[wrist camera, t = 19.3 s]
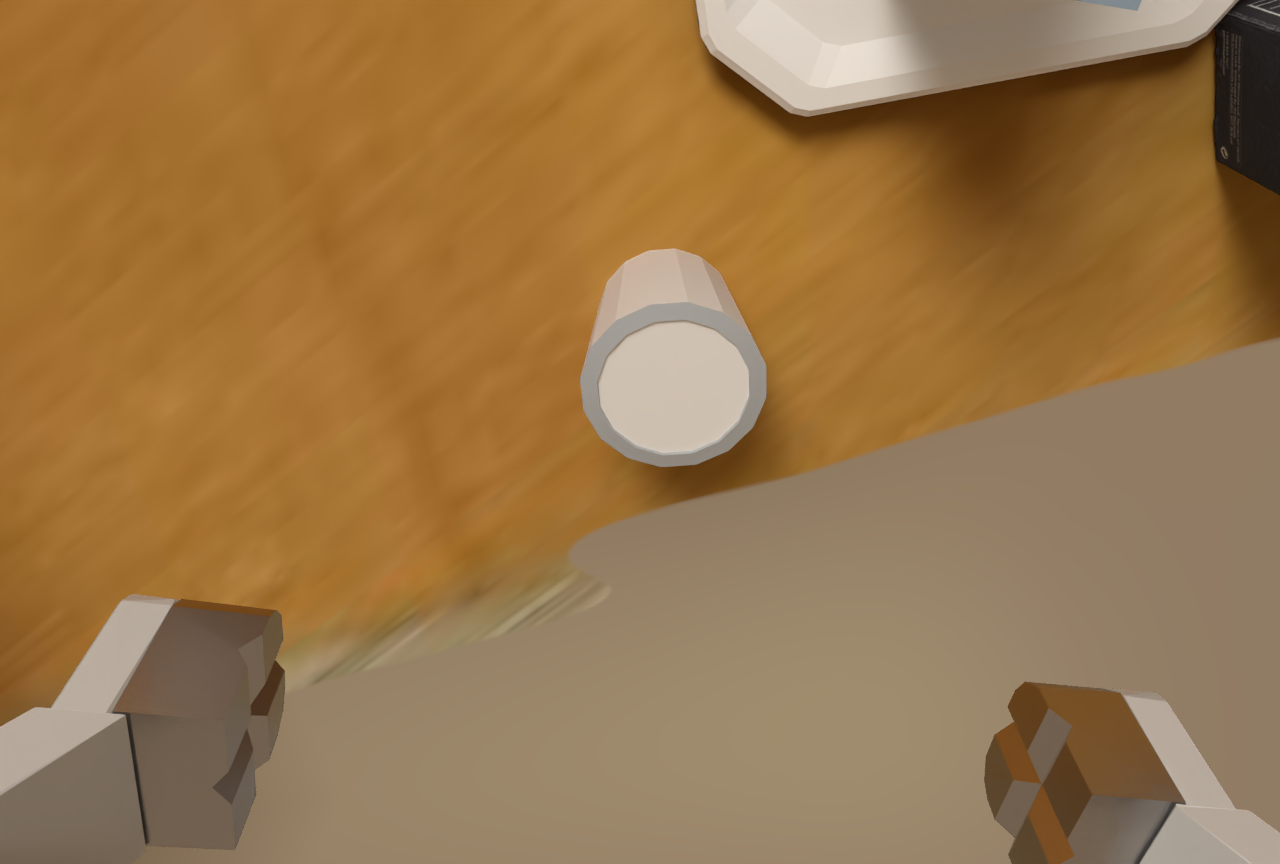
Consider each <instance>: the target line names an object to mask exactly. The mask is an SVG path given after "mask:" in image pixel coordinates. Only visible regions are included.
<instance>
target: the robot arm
mask: <svg viewBox="0 0 1280 864" xmlns="http://www.w3.org/2000/svg"><path fill="white" fill-rule="evenodd" d="M282 641H283V629H282V617H281V614H280V613H279V612H278V611H277V610H270V609H262V608H253V607H245V606H237V605H228V604H220V603H211V602H203V601H195V600H186V599H181V600H176V599H169V598H161V597H152V596H144V595H136V594H131V595H129V596H128V597H127V598H125V599H124V600H122V601H121V602H120V603H119V604H118V605H117V607H116V608H115V610H114V611H113V613H112V614H111V616H110V617H109V619H108V620H107V622H106V624H105V625H104V627H103V628H102V630H101V631H100V633H99V634H98V636H97V637H96V639H95V640H94V642H93V644H92V645H91V647H90V648H89V650H88V651H87V653H86V654H85V656H84V657H83V659H82V660H81V662H80V664H79V665H78V667H77V668H76V670H75V671H74V673H73V674H72V676H71V677H70V679H69V680H68V682H67V683H66V685H65V687H64V688H63V690H62V691H61V693H60V694H59V696H58V697H57V699H56V700H55V702H54V703H53V705H52V707H51V708H41V707H34V708H32V709H31V710H29V711H27V712H25V713H24V714H22V715H20V716H18V717H17V718H15V719H13V720H11V721H9V722H8V723H6V724H4V725H2V726H1V727H0V864H132V863H133V862H134V861H135V860H136V859H138V858H139V857H140V856H141V855H142V854H144V853H145V852H146V846H161V847H184V848H204V849H226V850H235V849H236V846H237V844H238V841H239V838H240V836H241V833H242V830H243V828H244V825H245V823H246V820H247V817H248V815H249V812H250V809H251V806H252V804H253V802H254V799H255V796H256V786H255V770H256V769H257V768H258V767H260V766H261V765H262V764H264V763H265V762H267V761H268V760H269V759H270V756H271V753H272V750H273V747H274V745H275V742H276V739H277V736H278V731H279V727H280V722H281V717H282V712H283V707H284V695H285V670H284V669H283V668H282V667H281V666H280V665H279V664H278V663H277V662H276V661H275V658H276V656H277V653H278V651H279V648H280V646H281V643H282ZM1008 709H1009V711H1010V713H1011V716H1012V718H1013V720H1014V722H1013V723H1011V724H1010V725H1008V726H1007V727H1005V728H1004V729H1002V730H1001V731H1000V732H998V733H997V734H995V735H994V738H993V740H992V742H991V745H990V747H989V750H988V752H987V755H986V763H985V777H984V781H985V788H986V793H987V800H988V802H989V805H990V808H991V810H992V813H993V816H994V819H995V820H996V821H997V822H998V823H1000V825H1001V826H1003V827H1004V828H1005V829H1006V830H1007V831H1008V832H1009V833H1010V834H1011V835H1013V837H1014V838H1015V839H1014V841H1013V844H1012V846H1011V849H1010V851H1009V854H1008V855H1009V858H1010V860H1011V863H1012V864H1280V833H1279V832H1278V831H1276V830H1275V829H1274V828H1272V827H1271V826H1269V825H1268V824H1267V823H1265V822H1264V821H1262V820H1261V819H1260V818H1258V817H1257V816H1256V815H1255V814H1253V813H1252V812H1250V811H1247V810H1237V809H1235V807H1234V806H1233V804H1232V803H1231V801H1230V799H1229V798H1228V796H1227V795H1226V793H1225V792H1224V790H1223V789H1222V787H1221V785H1220V784H1219V782H1218V781H1217V779H1216V778H1215V776H1214V775H1213V773H1212V772H1211V770H1210V768H1209V767H1208V765H1207V764H1206V762H1205V761H1204V759H1203V757H1202V756H1201V754H1200V753H1199V751H1198V750H1197V748H1196V747H1195V745H1194V743H1193V742H1192V740H1191V739H1190V737H1189V736H1188V734H1187V732H1186V731H1185V729H1184V728H1183V726H1182V725H1181V723H1180V722H1179V720H1178V719H1177V717H1176V715H1175V714H1174V712H1173V711H1172V709H1171V708H1170V706H1169V704H1168V703H1167V701H1166V700H1164V699H1163V698H1162V697H1160V696H1159V695H1157V694H1156V693H1155V692H1146V691H1133V690H1121V689H1110V690H1107V689H1101V688H1090V687H1078V686H1068V685H1056V684H1045V683H1033V682H1024V683H1023V684H1022V685H1021V686H1020V687H1019V688H1018V689H1016V690H1015V692H1014V694H1013V696H1012V698H1011V700H1010V702H1009V705H1008Z"/></svg>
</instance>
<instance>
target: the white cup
mask: <svg viewBox="0 0 1280 864" xmlns="http://www.w3.org/2000/svg"><path fill="white" fill-rule="evenodd" d="M580 382H581V391H582V400H583V409H584V412H585V414H586V415H587V417H588V419H589V420H590V422H591V424H592V425H593V427H594V429H595V430H596V432H597V434H598V435H599V437H600V438H601V439H602V440H603V441H605V442H606V443H607V444H609V445H610V446H612V447H613V448H614V449H616V450H617V451H618V452H620V453H621V454H623V455H624V456H625V457H627V458H629V459H633V460H636V461H640V462H644V463H647V464H651V465H655V466H658V467H671V466H686V465H697V464H699V463H701V462H704V461H706V460H708V459H711V458H713V457H715V456H718V455H720V454H723V453H725V452H727V451H729V450H730V449H731V448H732V447H733V446H734V445H735V444H736V443H737V442H738V441H739V440H740V439H742V438H743V437H744V436H745V435H746V434H747V433H748V432H749V431H750V430H751V429H752V428H753V426H754V424H755V422H756V420H757V418H758V415H759V413H760V411H761V409H762V407H763V404H764V402H765V400H766V364H765V362H764V360H763V358H762V356H761V354H760V352H759V350H758V348H757V346H756V344H755V341H754V339H753V337H752V335H751V333H750V331H749V329H748V327H747V325H746V323H745V321H744V319H743V317H742V315H741V314H740V312H739V310H738V308H737V306H736V304H735V302H734V300H733V298H732V296H731V294H730V292H729V290H728V288H727V286H726V284H725V282H724V280H723V278H722V276H721V274H720V272H718V271H717V270H716V269H715V268H714V267H712V266H711V265H710V264H709V263H708V262H707V261H705V260H704V259H703V258H702V257H701V256H697V255H694V254H691V253H688V252H685V251H681V250H678V249H663V250H650V251H647V252H645V253H642V254H640V255H638V256H636V257H634V258H632V259H630V260H628V261H626V262H624V263H623V264H622V266H621V267H620V268H619V269H618V270H617V271H616V272H615V273H614V274H613V275H612V277H611V278H610V279H609V280H608V281H607V284H606V287H605V290H604V293H603V296H602V299H601V302H600V304H599V308H598V312H597V316H596V320H595V324H594V327H593V331H592V335H591V339H590V343H589V347H588V350H587V354H586V358H585V362H584V366H583V370H582V373H581V377H580Z"/></svg>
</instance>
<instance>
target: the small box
mask: <svg viewBox="0 0 1280 864" xmlns="http://www.w3.org/2000/svg"><path fill="white" fill-rule="evenodd" d="M1215 31H1216V33H1215V35H1216V37H1217V48H1216V50H1215V52H1216V54H1217V74H1216V77H1217V84H1216V86H1217V91H1216V117H1215V120H1214V125H1215V139H1216V159H1217V161H1218V162H1220V163H1222V164H1224V165H1226V166H1228V167H1229V168H1231V169H1233V170H1235V171H1237V172H1239V173H1240V174H1242V175H1244V176H1246V177H1247V178H1249V179H1251V180H1253V181H1255V182H1257V183H1259V184H1261V185H1262V186H1264V187H1266V188H1267V189H1269V190H1271V191H1273V192H1275V193H1277V194H1278V195H1280V0H1239V1H1238V2H1237V3H1236V4H1235V5H1234V6H1233V7H1232V8H1231V10H1230V11H1229V12H1228V13H1227V14H1226V15H1225V16H1224V17H1223V18H1222V19H1221V20H1220V22H1219V23H1218V24H1217V25H1216V26H1215Z"/></svg>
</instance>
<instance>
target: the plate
mask: <svg viewBox="0 0 1280 864" xmlns="http://www.w3.org/2000/svg"><path fill="white" fill-rule="evenodd" d="M1238 1H1239V0H1142V1H1141V3H1140V6H1139V8H1138V11H1135V10H1129V9H1123V8H1117V7H1111V6H1105V5H1099V4H1094V3H1088V2H1082V1H1076V0H695V2H696V9H697V16H698V23H699V30H700V37H701V38H702V40H703V42H704V44H705V45H706V47H707V49H708V51H709V52H710V54H712V55H713V56H714V57H716V58H717V59H718V60H720V61H721V62H722V63H724V64H725V65H726V66H728V67H729V68H730V69H732V70H733V71H734V72H736V73H737V74H738V75H740V76H741V77H742V78H744V79H745V80H746V81H748V82H749V83H750V84H752V85H753V86H754V87H756V88H757V89H758V90H760V91H761V92H763V93H764V94H765V95H767V96H768V97H769V98H771V99H772V100H773V101H775V102H776V103H777V104H779V105H780V106H781V107H783V108H784V109H785V110H787V111H788V112H789V113H792V114H797V115H801V116H806V117H809V116H815V115H820V114H826V113H831V112H836V111H842V110H847V109H853V108H858V107H864V106H869V105H874V104H880V103H885V102H891V101H896V100H901V99H907V98H912V97H918V96H923V95H929V94H934V93H939V92H945V91H950V90H956V89H961V88H967V87H972V86H977V85H983V84H988V83H994V82H999V81H1005V80H1010V79H1015V78H1021V77H1026V76H1032V75H1037V74H1042V73H1048V72H1053V71H1059V70H1064V69H1070V68H1075V67H1080V66H1086V65H1091V64H1097V63H1102V62H1108V61H1113V60H1118V59H1124V58H1129V57H1135V56H1140V55H1146V54H1151V53H1156V52H1162V51H1167V50H1173V49H1178V48H1183V47H1188V46H1190V45H1192V44H1193V43H1195V42H1197V41H1198V40H1200V39H1202V38H1204V37H1205V36H1207V35H1208V33H1209V32H1210V31H1211V30H1212V29H1213V28H1214V27H1215V26H1216V25H1217V24H1218V23H1219V22H1220V20H1221V19H1222V18H1223V17H1224V16H1225V15H1226V14H1227V13H1228V12H1229V11H1230V10H1231V8H1232V7H1233V6H1234V5H1235V4H1236V3H1237V2H1238Z"/></svg>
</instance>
